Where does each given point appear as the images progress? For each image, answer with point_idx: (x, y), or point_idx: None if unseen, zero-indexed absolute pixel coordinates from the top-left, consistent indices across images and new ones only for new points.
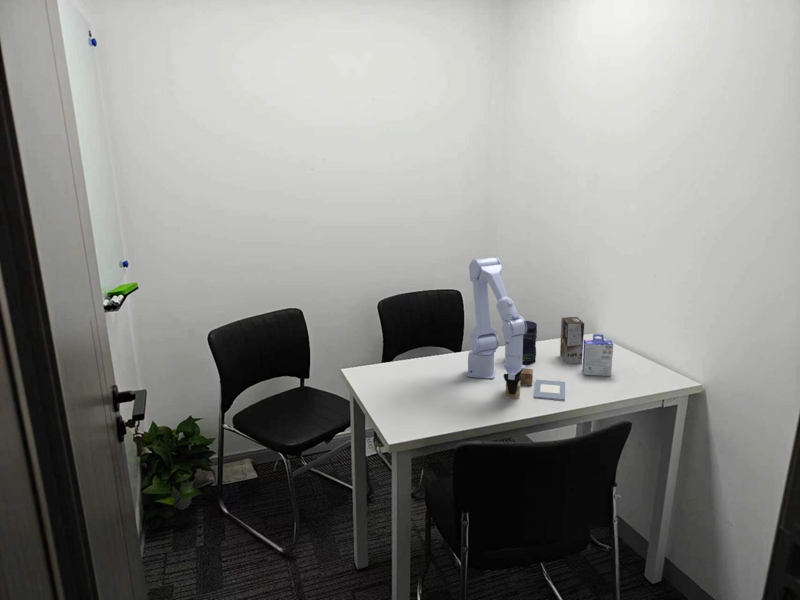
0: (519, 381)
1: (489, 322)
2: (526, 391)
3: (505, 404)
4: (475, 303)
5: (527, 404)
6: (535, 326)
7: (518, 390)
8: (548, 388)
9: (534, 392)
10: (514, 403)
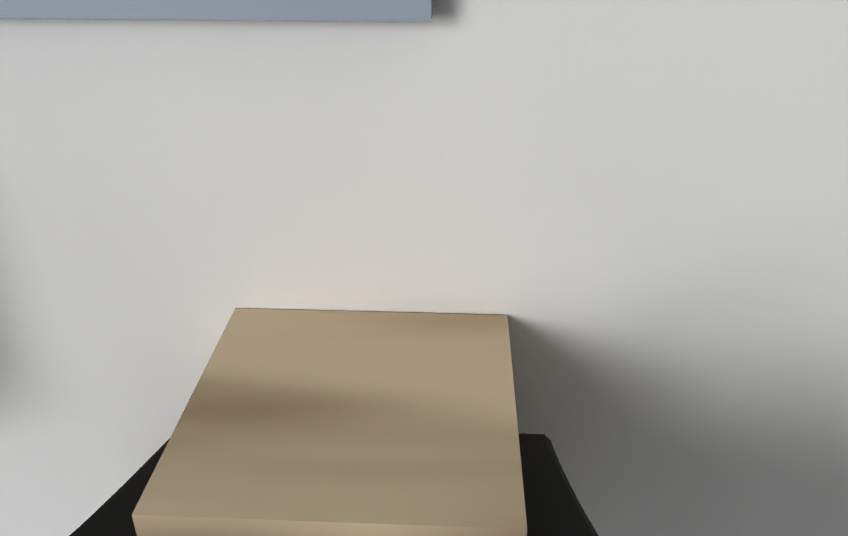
0: (211, 533)
1: None
2: (132, 193)
3: (796, 500)
4: None
5: (797, 140)
6: None
7: (518, 444)
8: None
9: (195, 17)
10: (752, 377)
